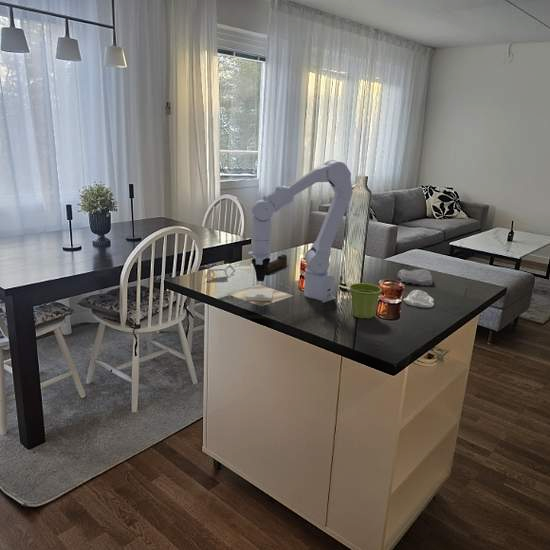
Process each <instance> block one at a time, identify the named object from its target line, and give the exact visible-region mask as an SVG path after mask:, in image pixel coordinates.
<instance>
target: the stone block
mask: <svg viewBox="0 0 550 550" xmlns="http://www.w3.org/2000/svg"><path fill="white" fill-rule="evenodd" d="M398 277H399V278H400V279H401V280H400V282H401V281H402V282H406V283H405V284H408V283H412V284H411V285H415V284H419V285H418V286H424V285H425V286H433V276H432V273H431V272H430V271H429V270H427V269H423V268H422V269H413V270H407V269H405V268H404V269H403V268H402V269H400V270H399V271H398V272H397V278H398ZM399 278H398V279H399Z"/></svg>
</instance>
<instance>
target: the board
mask: <svg viewBox="0 0 550 550" xmlns="http://www.w3.org/2000/svg"><path fill="white" fill-rule="evenodd" d="M249 289H265V290H273V296H272V301H253V300H246V295H247V292H248V290H249ZM226 295H228V296H231V297H234V298H236V299H239V300H241V301H245V302H248V303H251V304H254V305H256V306H259V307H263V306H266V305H270V304H273V303H276V302H279V301H282V300H285V299H288V298H291V297H294V295H292V294H289V293H287V292H283V291H280V290H278V289H277V290H276V289H274V288H272V287H271V288H270V287H268V286H264V285H262V284H256V285H252V286H248V287H246V288H242V289H239V290H235V291H232V292H227V293H226Z"/></svg>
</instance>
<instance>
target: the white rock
mask: <svg viewBox="0 0 550 550" xmlns="http://www.w3.org/2000/svg"><path fill="white" fill-rule="evenodd" d="M402 300H403V302H404V303H405V304H406V305H409V306H411V307H416V308H417V307H418V308H422V309H423V308H426V309H427V308H429V309H430V308H432V307H434V306H435V303H434V301H435V299H434V298H433V297H432V296H430V295H429V294H428V292H425V291H423V290H420V289H413V290H411V291H410V292H409V294H408V295H407V297H405V298H403V299H402Z"/></svg>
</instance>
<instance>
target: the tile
mask: <svg viewBox="0 0 550 550" xmlns="http://www.w3.org/2000/svg"><path fill="white" fill-rule="evenodd" d="M272 296H273V290H265V289H249V290H248V292H247V295H246V300H253V301H272Z"/></svg>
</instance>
